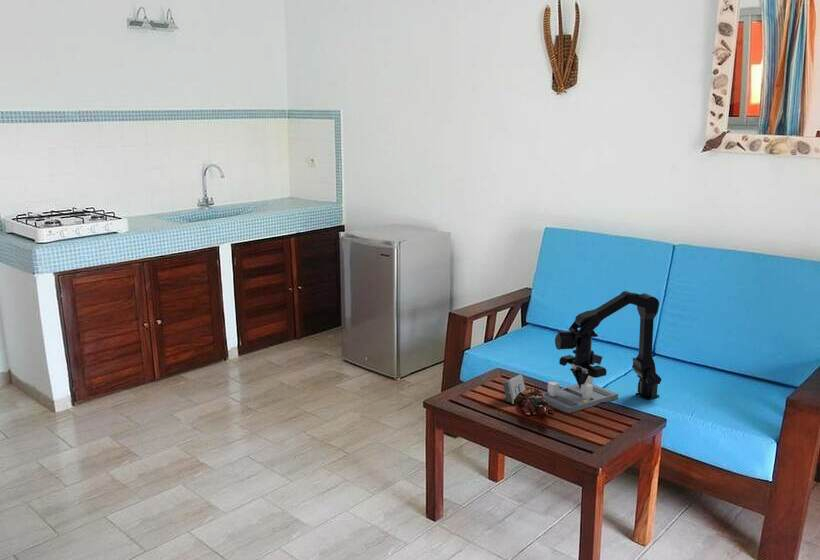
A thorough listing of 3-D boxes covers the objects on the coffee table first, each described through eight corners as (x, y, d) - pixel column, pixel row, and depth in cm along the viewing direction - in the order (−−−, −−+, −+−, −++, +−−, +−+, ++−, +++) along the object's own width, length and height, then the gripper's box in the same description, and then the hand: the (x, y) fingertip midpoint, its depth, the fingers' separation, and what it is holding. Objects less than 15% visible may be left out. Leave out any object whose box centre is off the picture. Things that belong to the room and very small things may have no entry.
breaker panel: (617, 398, 270) (619, 381, 268) (568, 413, 256) (569, 395, 254) (586, 386, 283) (587, 369, 281) (537, 399, 269) (538, 381, 267)
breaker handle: (591, 401, 266) (592, 385, 264) (586, 403, 264) (587, 386, 262) (585, 399, 268) (586, 382, 267) (580, 400, 266) (581, 384, 265)
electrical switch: (514, 406, 263) (513, 381, 261) (502, 403, 266) (501, 379, 265) (527, 398, 270) (526, 374, 268) (515, 396, 273) (514, 373, 272)
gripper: (618, 350, 261) (615, 391, 264) (580, 338, 276) (578, 376, 279) (596, 356, 255) (594, 397, 258) (559, 342, 270) (557, 381, 273)
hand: (581, 387), depth 267 cm, fingers closed
